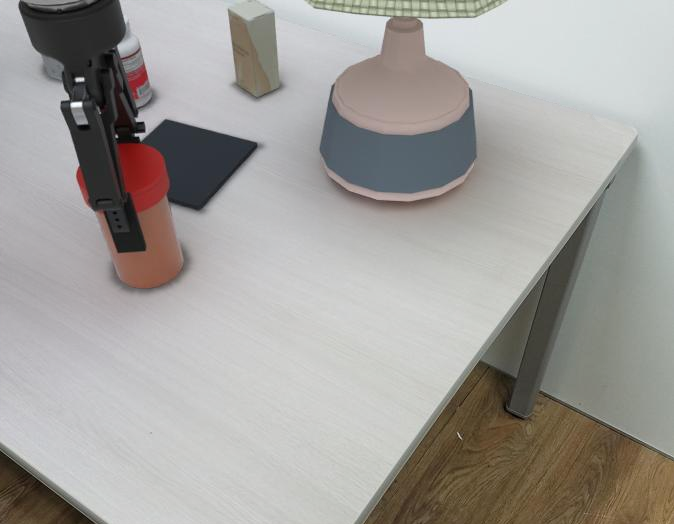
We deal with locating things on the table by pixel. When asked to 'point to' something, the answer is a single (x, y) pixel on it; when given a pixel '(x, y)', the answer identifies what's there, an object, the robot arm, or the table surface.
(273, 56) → the box
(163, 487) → the table surface
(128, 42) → the pill bottle
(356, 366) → the table surface
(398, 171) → the desk lamp
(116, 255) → the jar
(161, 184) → the lid
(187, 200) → the coaster
